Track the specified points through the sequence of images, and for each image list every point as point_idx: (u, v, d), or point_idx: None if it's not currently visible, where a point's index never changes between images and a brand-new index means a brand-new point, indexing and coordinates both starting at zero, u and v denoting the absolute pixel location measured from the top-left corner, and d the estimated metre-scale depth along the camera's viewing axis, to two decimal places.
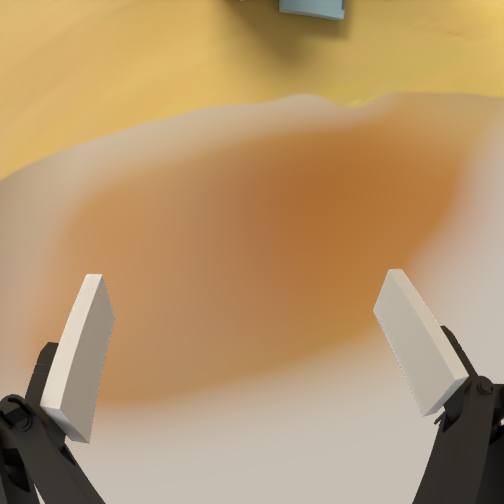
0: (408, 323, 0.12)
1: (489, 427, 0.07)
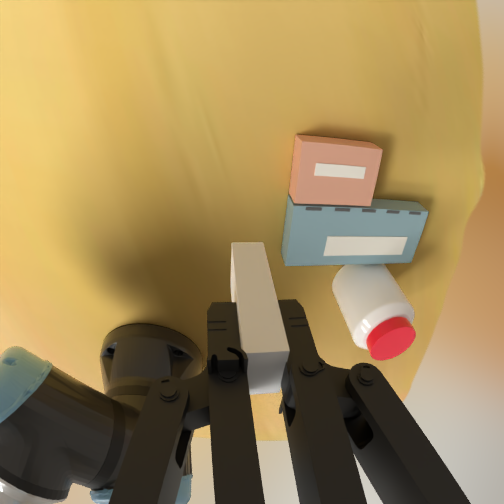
0: None
1: (337, 409, 0.08)
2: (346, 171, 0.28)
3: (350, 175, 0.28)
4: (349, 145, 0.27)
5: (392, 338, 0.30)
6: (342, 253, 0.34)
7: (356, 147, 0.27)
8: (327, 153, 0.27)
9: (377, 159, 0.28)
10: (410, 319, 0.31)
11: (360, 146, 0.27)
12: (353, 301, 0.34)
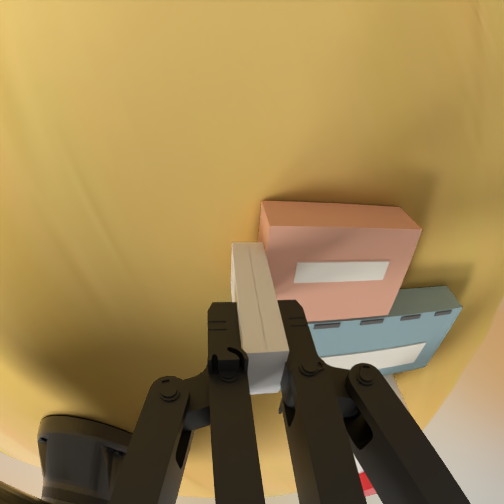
0: None
1: (337, 409, 0.08)
2: (354, 271, 0.16)
3: (360, 277, 0.16)
4: (363, 226, 0.14)
5: None
6: None
7: (376, 229, 0.14)
8: (319, 244, 0.14)
9: (410, 246, 0.15)
10: None
11: (383, 225, 0.15)
12: None
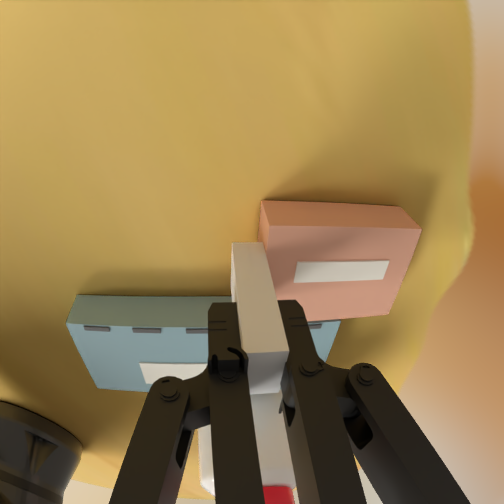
0: None
1: (337, 409, 0.08)
2: (354, 271, 0.16)
3: (360, 276, 0.16)
4: (363, 225, 0.14)
5: None
6: None
7: (376, 229, 0.14)
8: (319, 243, 0.14)
9: (410, 245, 0.15)
10: (290, 483, 0.17)
11: (383, 225, 0.15)
12: (202, 444, 0.20)
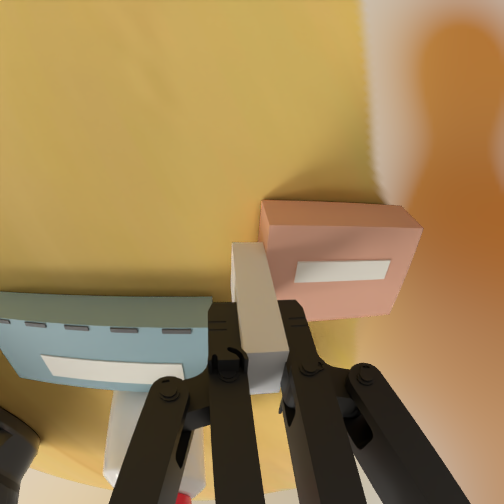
0: None
1: (337, 410, 0.08)
2: (355, 270, 0.15)
3: (360, 276, 0.16)
4: (364, 225, 0.14)
5: None
6: (75, 376, 0.19)
7: (377, 228, 0.14)
8: (320, 243, 0.14)
9: (411, 245, 0.15)
10: (182, 490, 0.16)
11: (384, 224, 0.14)
12: (106, 439, 0.19)
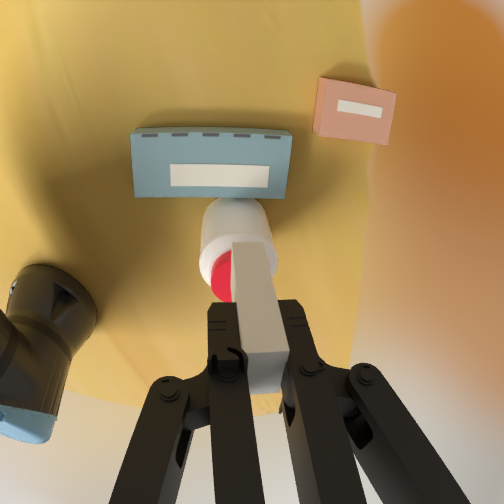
0: None
1: (337, 409, 0.08)
2: (365, 109, 0.29)
3: (369, 114, 0.29)
4: (367, 86, 0.28)
5: None
6: (190, 183, 0.32)
7: (374, 88, 0.28)
8: (348, 91, 0.28)
9: (392, 101, 0.28)
10: None
11: (377, 88, 0.28)
12: (203, 235, 0.32)
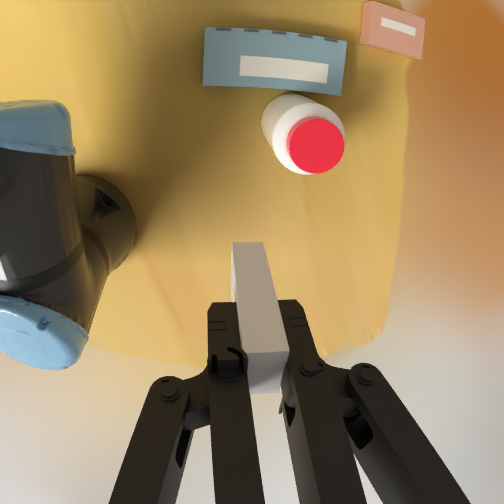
0: None
1: (337, 409, 0.08)
2: (403, 27, 0.28)
3: (405, 32, 0.29)
4: (402, 11, 0.27)
5: (312, 135, 0.28)
6: (258, 73, 0.31)
7: (407, 12, 0.27)
8: (388, 12, 0.27)
9: (422, 24, 0.28)
10: (336, 127, 0.29)
11: None
12: (273, 116, 0.32)
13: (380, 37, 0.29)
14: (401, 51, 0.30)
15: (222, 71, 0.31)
